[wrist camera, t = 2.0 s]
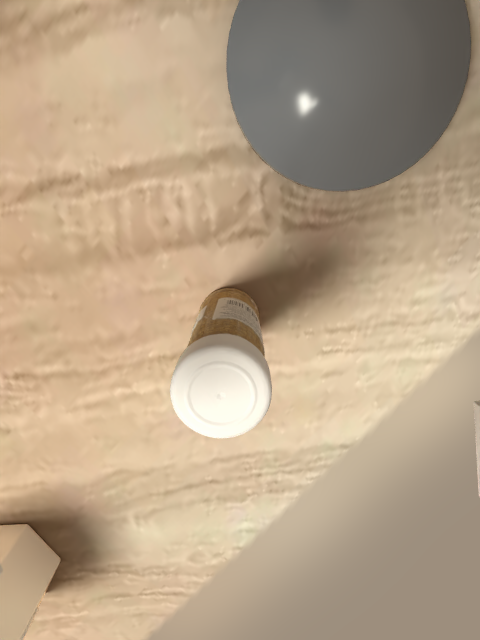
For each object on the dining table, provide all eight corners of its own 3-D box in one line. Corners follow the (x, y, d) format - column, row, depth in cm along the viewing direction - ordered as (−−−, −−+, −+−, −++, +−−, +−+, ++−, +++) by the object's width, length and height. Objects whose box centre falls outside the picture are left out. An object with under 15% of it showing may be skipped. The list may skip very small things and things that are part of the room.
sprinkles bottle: (186, 311, 31) (146, 387, 18) (234, 274, 30) (228, 325, 17) (225, 357, 32) (213, 460, 19) (272, 321, 31) (294, 404, 18)
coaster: (247, 208, 29) (247, 208, 28) (207, -46, 25) (206, -56, 24) (465, 171, 28) (473, 170, 27) (459, -97, 24) (468, -109, 23)
